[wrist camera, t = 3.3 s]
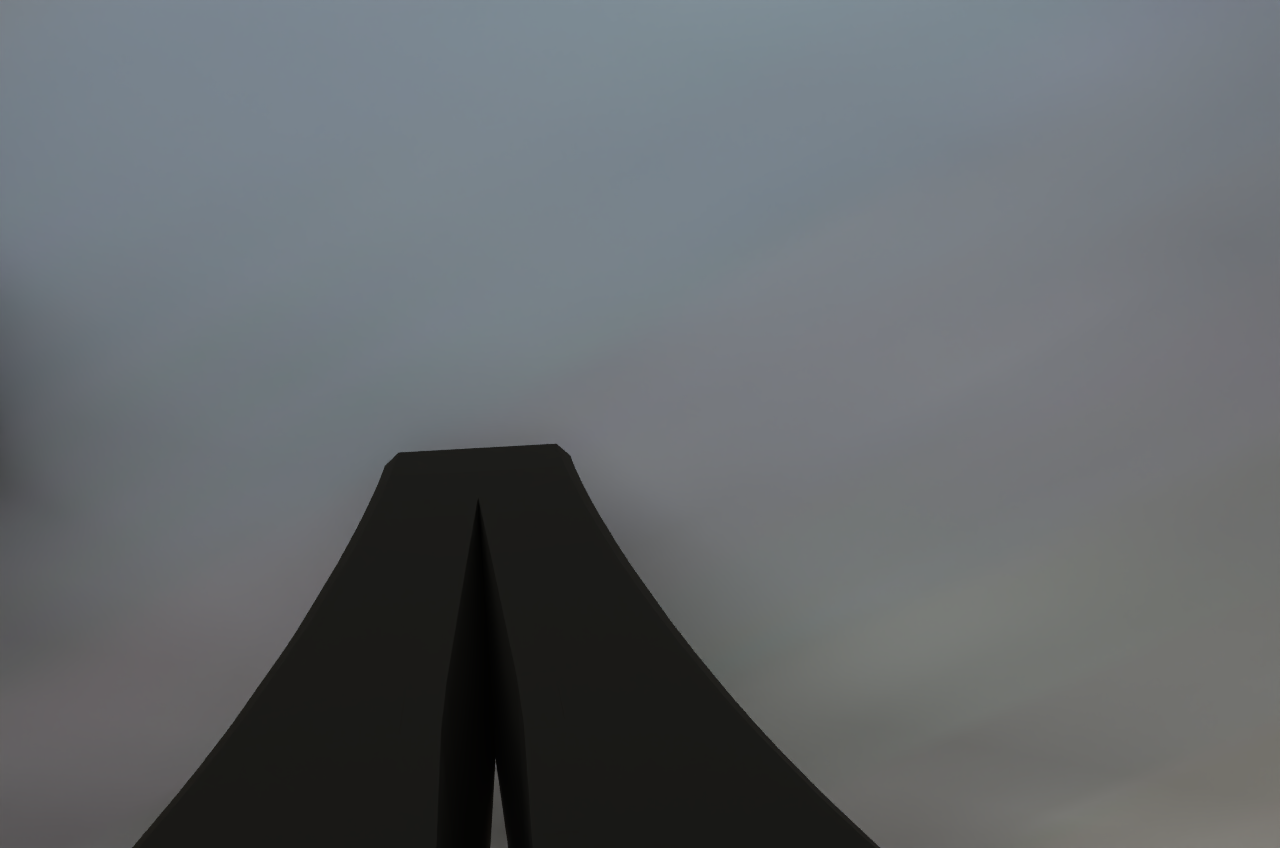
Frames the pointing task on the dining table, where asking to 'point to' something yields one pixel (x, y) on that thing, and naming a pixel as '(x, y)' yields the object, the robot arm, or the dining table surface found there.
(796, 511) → the dining table surface
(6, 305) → the dining table surface
